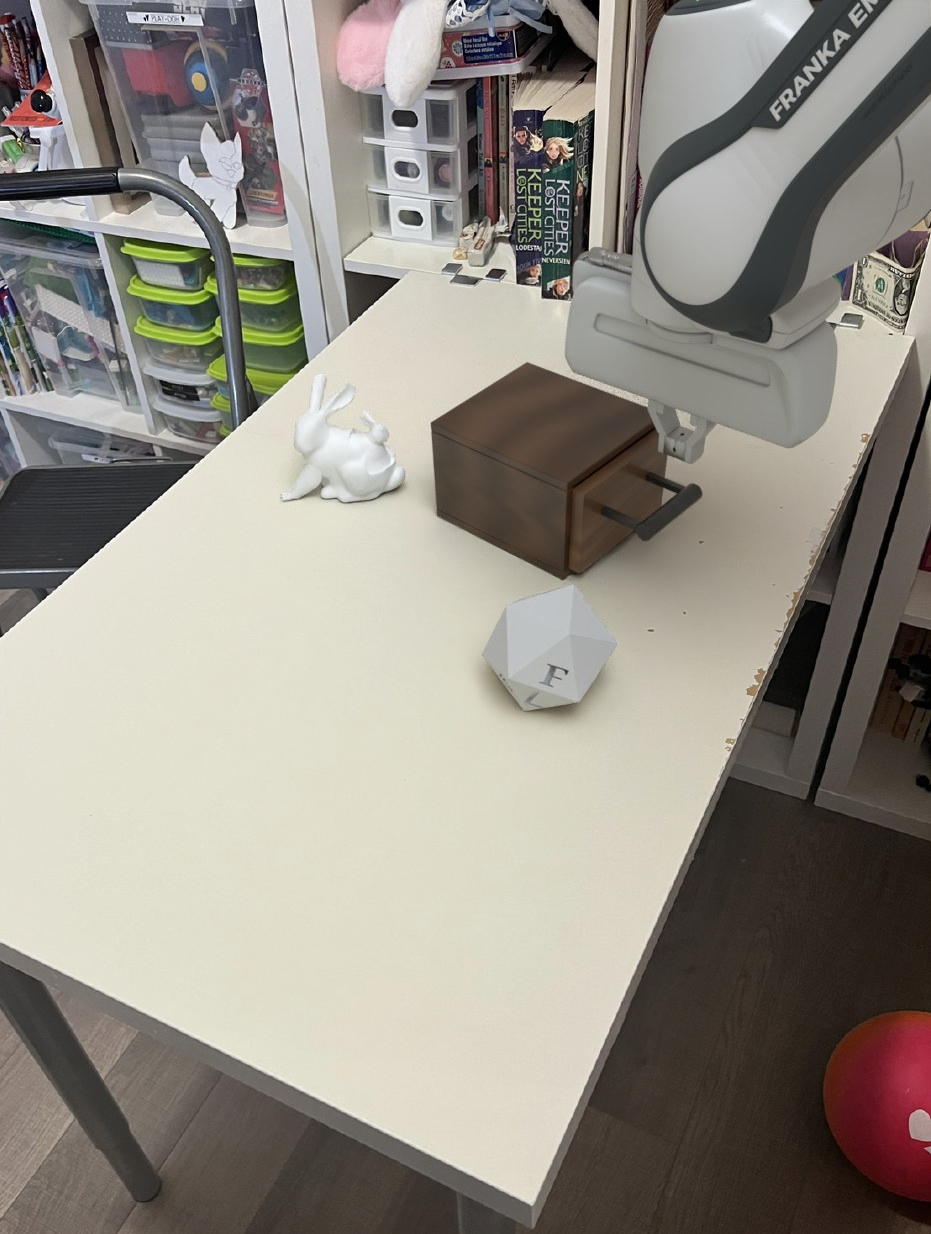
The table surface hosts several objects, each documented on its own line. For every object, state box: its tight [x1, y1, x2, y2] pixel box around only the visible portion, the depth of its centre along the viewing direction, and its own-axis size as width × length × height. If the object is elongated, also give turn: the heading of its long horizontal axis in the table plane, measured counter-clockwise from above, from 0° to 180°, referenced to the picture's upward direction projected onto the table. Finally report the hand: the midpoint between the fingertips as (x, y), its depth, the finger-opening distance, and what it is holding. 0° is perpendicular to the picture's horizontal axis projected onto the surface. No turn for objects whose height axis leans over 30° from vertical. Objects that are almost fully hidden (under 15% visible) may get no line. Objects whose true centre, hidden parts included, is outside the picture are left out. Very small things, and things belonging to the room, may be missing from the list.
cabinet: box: [430, 361, 656, 581], centre depth 89 cm, size 15×13×10 cm
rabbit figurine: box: [279, 373, 406, 503], centre depth 95 cm, size 12×8×10 cm, turn 78°
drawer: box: [569, 429, 703, 575], centre depth 87 cm, size 18×11×8 cm, turn 45°
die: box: [481, 584, 619, 712], centre depth 75 cm, size 8×9×10 cm
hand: (680, 454), depth 78 cm, fingers closed
